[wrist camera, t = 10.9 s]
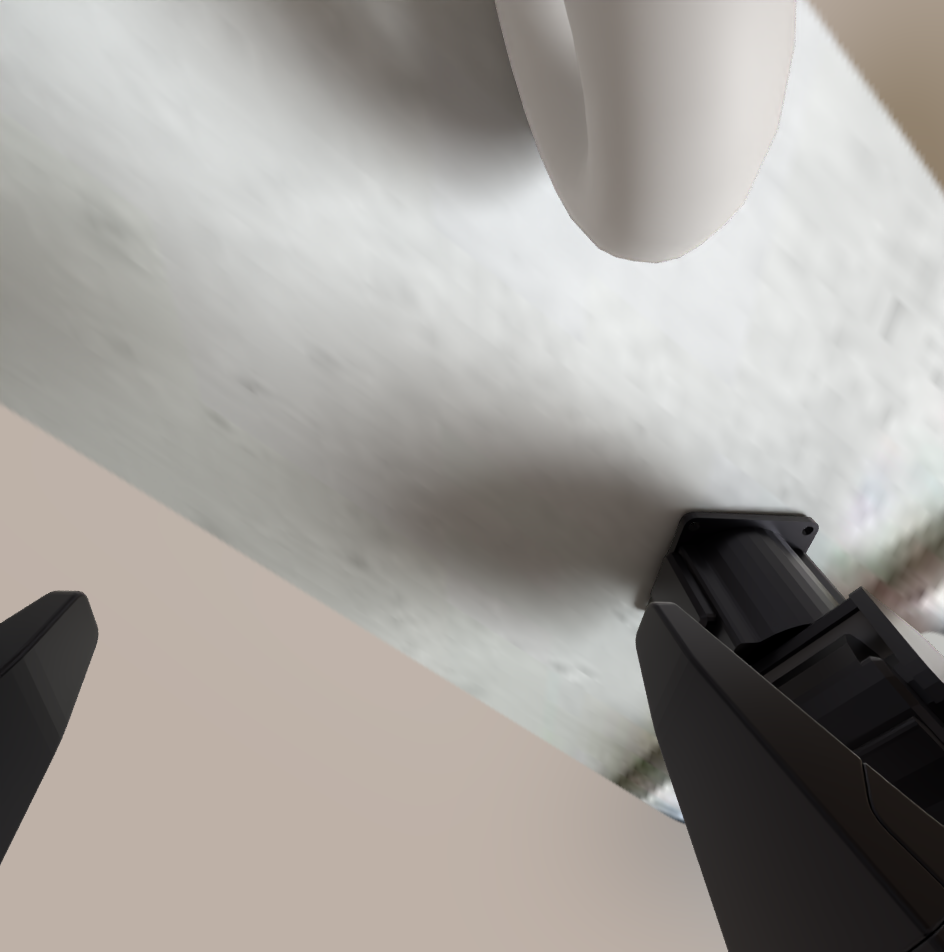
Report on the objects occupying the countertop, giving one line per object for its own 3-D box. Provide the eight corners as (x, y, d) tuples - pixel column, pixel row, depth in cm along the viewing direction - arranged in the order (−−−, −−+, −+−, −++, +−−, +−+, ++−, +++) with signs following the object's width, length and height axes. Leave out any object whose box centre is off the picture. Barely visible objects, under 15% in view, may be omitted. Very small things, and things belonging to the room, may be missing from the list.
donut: (653, 199, 18) (852, 277, 10) (551, 241, 19) (661, 350, 10) (571, -251, 13) (854, -886, 5) (432, -177, 13) (461, -638, 5)
